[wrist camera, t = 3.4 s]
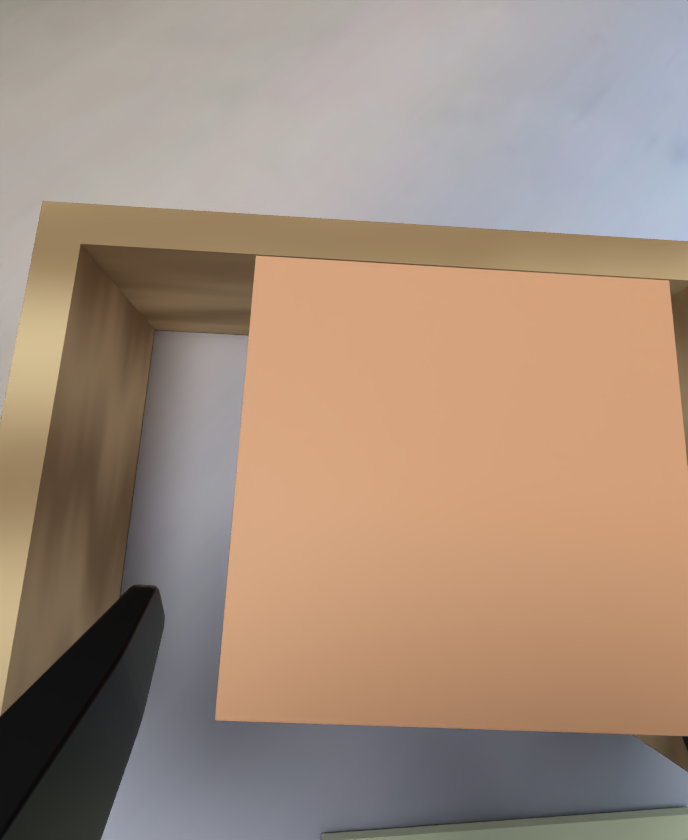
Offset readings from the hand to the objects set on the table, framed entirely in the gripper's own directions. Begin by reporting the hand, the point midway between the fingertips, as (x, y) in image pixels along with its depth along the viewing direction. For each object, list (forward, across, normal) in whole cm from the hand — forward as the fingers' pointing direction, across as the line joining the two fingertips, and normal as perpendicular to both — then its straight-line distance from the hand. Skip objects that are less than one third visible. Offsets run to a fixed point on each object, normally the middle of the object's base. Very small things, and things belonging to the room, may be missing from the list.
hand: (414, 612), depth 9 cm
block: (+8, 0, +5) cm, 9 cm away
